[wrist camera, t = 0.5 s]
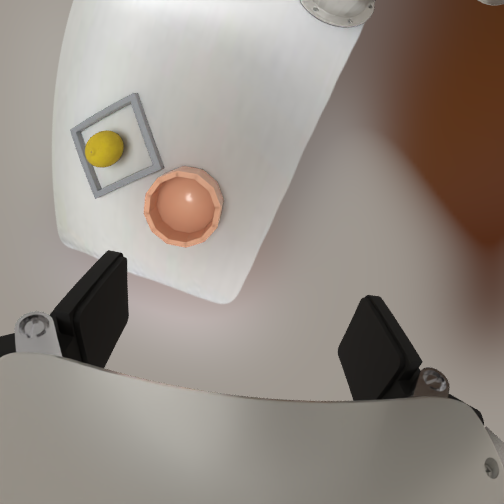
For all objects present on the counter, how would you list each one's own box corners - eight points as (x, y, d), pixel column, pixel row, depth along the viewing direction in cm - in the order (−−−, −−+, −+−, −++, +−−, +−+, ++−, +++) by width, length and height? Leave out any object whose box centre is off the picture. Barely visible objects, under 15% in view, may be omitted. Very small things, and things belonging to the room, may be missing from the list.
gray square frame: (74, 129, 37) (70, 130, 36) (137, 93, 36) (134, 92, 34) (99, 196, 43) (95, 198, 41) (164, 167, 41) (161, 169, 40)
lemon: (105, 127, 38) (79, 130, 30) (134, 132, 38) (111, 135, 31) (99, 159, 40) (73, 168, 33) (127, 165, 41) (104, 175, 33)
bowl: (143, 182, 42) (133, 188, 38) (208, 156, 41) (203, 160, 36) (169, 243, 46) (162, 255, 42) (232, 223, 45) (230, 233, 41)
